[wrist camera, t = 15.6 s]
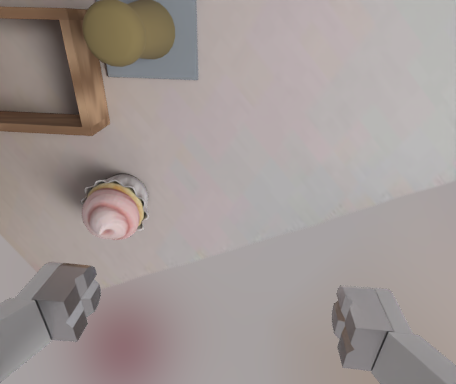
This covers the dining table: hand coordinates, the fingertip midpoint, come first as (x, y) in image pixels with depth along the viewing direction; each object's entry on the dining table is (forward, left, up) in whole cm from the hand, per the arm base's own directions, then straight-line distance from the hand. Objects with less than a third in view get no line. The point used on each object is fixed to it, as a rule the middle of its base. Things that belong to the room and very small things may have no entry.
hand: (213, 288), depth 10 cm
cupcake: (+15, -17, -31) cm, 39 cm away
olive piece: (-7, -11, -31) cm, 34 cm away
